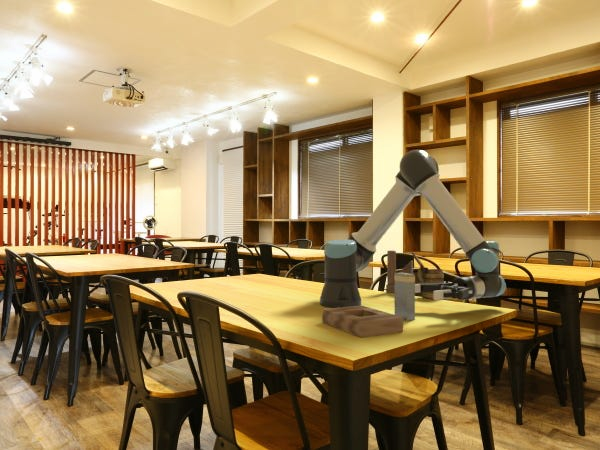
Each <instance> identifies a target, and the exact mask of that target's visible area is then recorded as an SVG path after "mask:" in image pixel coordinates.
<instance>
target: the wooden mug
mask: <svg viewBox="0 0 600 450" xmlns="http://www.w3.org/2000/svg"><path fill="white" fill-rule="evenodd" d="M411 255H412V256H413V258H414V260H415V261H416V263H417V264H418V265H419V269H418V270H417V273H416V276H417V279H418V281H419V283H445V281H444V278H445V274H444V271H443V269H442V268H441V269H440V268H435V269H434V268H431V269H429V267H425V265H424V264H423V263H422V261H421V260H420V259H419V257H418V256H417V255H416V254H415V253H414V252H411ZM423 274H424V277H425V279H423ZM443 286H444V285H443ZM422 297H423V298H424V299H429V300H433V292H422Z"/></svg>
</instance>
